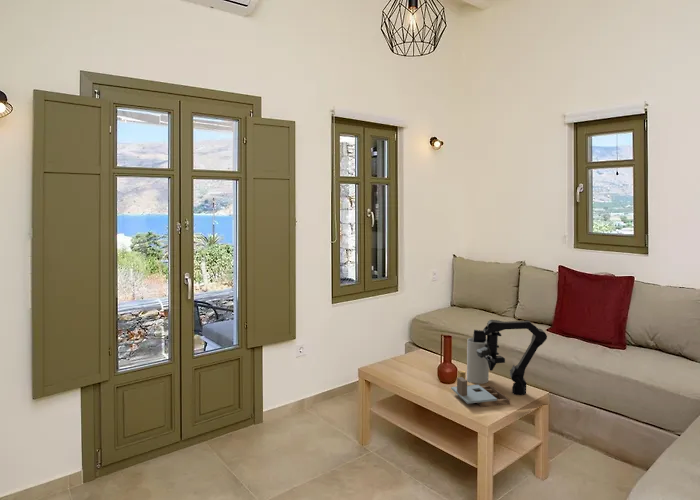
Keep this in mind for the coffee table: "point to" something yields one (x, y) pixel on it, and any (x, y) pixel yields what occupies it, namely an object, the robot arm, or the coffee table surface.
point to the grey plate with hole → (472, 392)
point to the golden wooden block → (462, 374)
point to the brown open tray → (500, 397)
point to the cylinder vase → (476, 363)
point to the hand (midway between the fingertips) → (491, 370)
